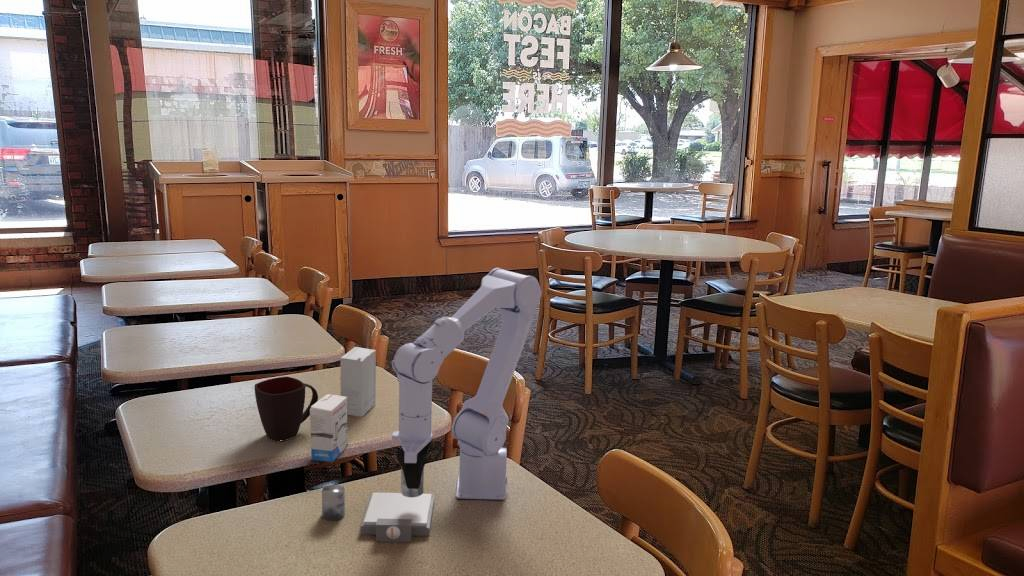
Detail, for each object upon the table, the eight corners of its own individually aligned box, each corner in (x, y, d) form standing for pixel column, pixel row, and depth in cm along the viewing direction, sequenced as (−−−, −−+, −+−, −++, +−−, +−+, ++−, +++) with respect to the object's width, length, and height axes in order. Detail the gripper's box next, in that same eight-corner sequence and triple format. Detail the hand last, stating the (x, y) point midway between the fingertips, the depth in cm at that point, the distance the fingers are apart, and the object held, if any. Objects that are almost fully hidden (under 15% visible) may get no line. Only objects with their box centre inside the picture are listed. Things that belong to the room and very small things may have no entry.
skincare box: (354, 401, 185) (354, 345, 181) (377, 405, 184) (377, 348, 180) (339, 414, 177) (338, 356, 173) (362, 418, 176) (362, 359, 172)
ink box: (331, 463, 153) (330, 410, 151) (309, 460, 154) (308, 408, 152) (348, 445, 162) (348, 395, 159) (327, 442, 163) (326, 392, 160)
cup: (250, 434, 165) (247, 384, 162) (305, 417, 175) (304, 370, 172) (271, 449, 158) (269, 397, 155) (328, 431, 168) (327, 382, 165)
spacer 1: (346, 509, 136) (346, 485, 135) (342, 521, 132) (341, 496, 131) (325, 508, 136) (324, 484, 135) (319, 520, 132) (319, 495, 131)
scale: (434, 503, 140) (434, 487, 139) (428, 543, 127) (428, 527, 126) (370, 501, 139) (370, 486, 139) (358, 541, 127) (358, 525, 126)
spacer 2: (402, 485, 135) (403, 460, 134) (424, 486, 135) (425, 461, 134) (399, 496, 131) (399, 471, 130) (421, 497, 131) (422, 472, 130)
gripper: (397, 394, 136) (397, 461, 139) (386, 427, 122) (386, 501, 125) (436, 395, 136) (434, 462, 140) (429, 429, 122) (427, 502, 126)
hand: (414, 481), depth 133 cm, fingers closed on spacer 2, 4 cm apart
